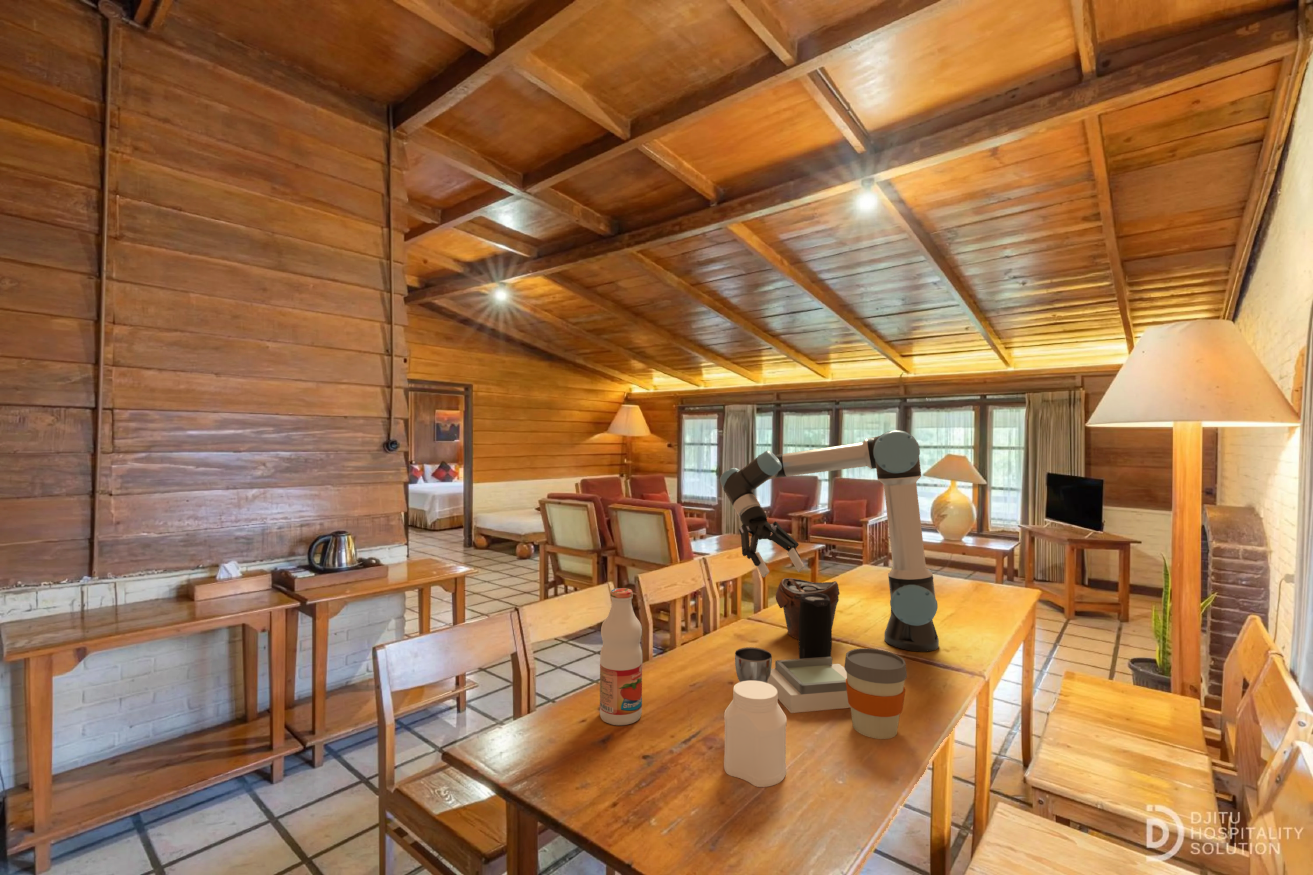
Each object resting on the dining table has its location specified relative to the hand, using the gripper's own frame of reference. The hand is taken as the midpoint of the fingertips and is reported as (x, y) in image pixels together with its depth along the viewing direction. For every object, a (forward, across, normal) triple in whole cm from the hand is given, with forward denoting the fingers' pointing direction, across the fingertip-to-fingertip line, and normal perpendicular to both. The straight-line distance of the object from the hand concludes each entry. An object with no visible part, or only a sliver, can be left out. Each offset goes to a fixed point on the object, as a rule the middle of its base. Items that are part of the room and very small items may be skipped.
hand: (784, 571), depth 165 cm
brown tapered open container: (+11, -19, -24) cm, 32 cm away
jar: (+44, +44, +10) cm, 63 cm away
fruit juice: (+23, +56, -12) cm, 62 cm away
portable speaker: (+25, -1, -10) cm, 27 cm away
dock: (+33, +8, 0) cm, 34 cm away
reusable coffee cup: (+45, +12, +11) cm, 48 cm away
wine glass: (+35, +33, 0) cm, 48 cm away
